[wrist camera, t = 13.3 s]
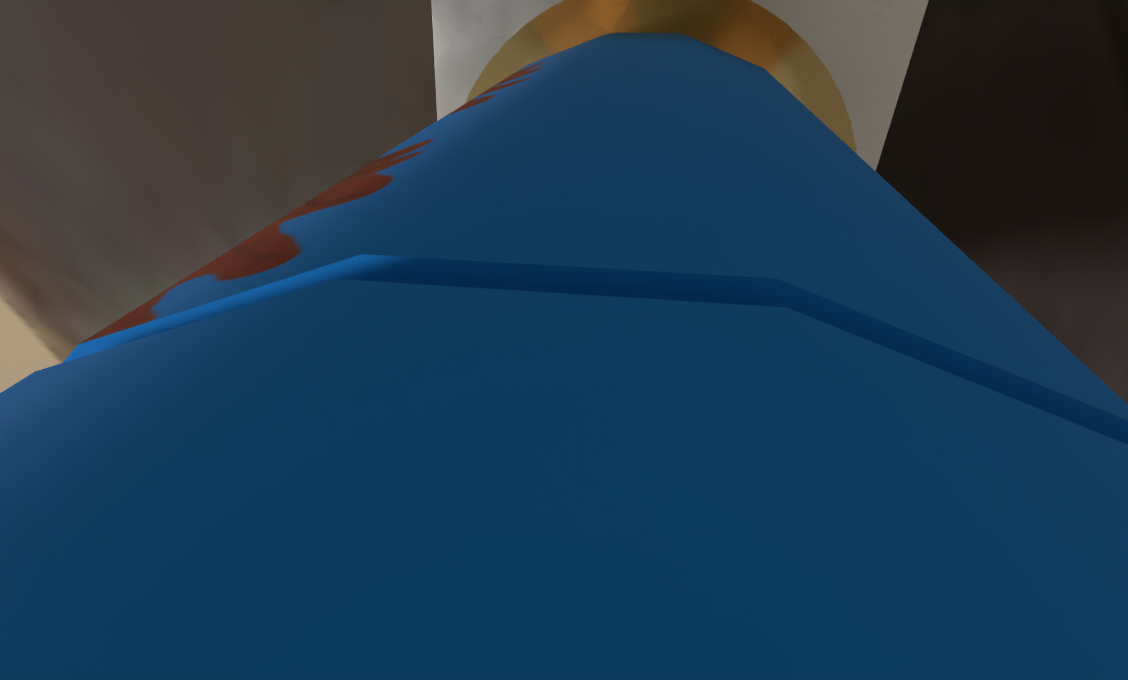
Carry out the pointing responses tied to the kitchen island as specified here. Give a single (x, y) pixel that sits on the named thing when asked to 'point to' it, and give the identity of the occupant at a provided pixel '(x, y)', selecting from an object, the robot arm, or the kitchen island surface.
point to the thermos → (575, 422)
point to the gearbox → (716, 17)
